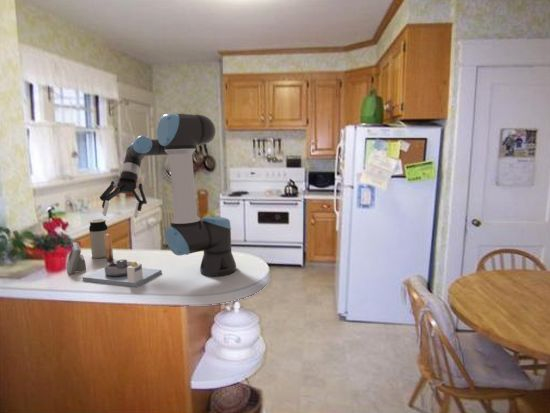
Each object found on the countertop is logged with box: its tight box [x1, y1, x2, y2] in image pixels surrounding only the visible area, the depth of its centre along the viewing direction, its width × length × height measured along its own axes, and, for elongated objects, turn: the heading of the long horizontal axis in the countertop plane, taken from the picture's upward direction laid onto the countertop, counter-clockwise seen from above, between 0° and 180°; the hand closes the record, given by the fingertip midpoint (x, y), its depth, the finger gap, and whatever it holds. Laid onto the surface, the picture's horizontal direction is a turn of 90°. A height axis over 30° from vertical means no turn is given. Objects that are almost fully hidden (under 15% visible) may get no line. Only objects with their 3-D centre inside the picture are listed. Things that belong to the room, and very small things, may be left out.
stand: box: [82, 261, 163, 288], centre depth 155 cm, size 26×16×9 cm, turn 72°
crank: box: [104, 233, 133, 277], centre depth 157 cm, size 17×12×14 cm
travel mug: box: [88, 218, 109, 259], centre depth 185 cm, size 8×8×18 cm
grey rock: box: [66, 241, 87, 275], centre depth 167 cm, size 16×9×11 cm, turn 19°
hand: (119, 216), depth 168 cm, fingers open, 13 cm apart
